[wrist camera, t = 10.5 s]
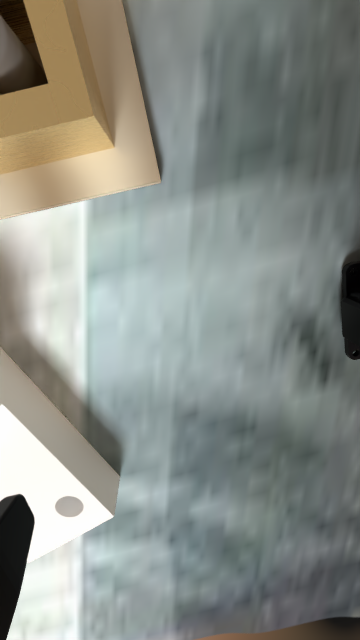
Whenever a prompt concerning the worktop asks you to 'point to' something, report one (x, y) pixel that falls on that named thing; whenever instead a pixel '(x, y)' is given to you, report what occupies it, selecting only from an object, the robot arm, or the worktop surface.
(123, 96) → the post board
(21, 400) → the bracket
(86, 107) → the brass collar
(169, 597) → the worktop surface
